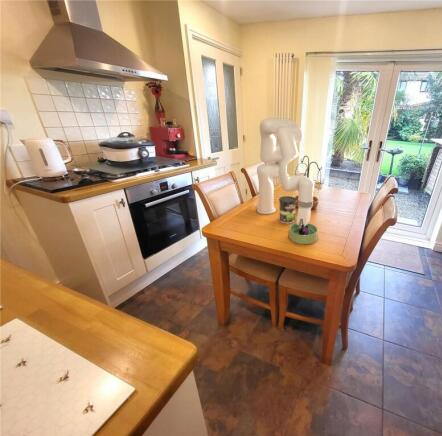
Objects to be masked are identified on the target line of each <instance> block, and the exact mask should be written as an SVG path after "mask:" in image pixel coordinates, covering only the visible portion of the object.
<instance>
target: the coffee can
mask: <svg viewBox="0 0 442 436" xmlns="http://www.w3.org/2000/svg"><path fill="white" fill-rule="evenodd" d="M296 204H297V198H296V197H294V196H289V195H287V196H286V195H284V196H280V197H279V198H278V221H279V222H280V223H282V224H286V225H287V224H294V223H295V221H296Z"/></svg>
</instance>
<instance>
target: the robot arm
mask: <svg viewBox="0 0 442 436" xmlns="http://www.w3.org/2000/svg"><path fill="white" fill-rule="evenodd" d="M259 133H260V134H259V135H260V153H259V155H260V156H259V157H260V160H261V162H263V163H262V164H259V165H257V168H256V174H257V181H258V198H259V199H258V202H254V207H257V209H256V212H258V214H261V215H271V214H274V213H275V212H277V211H276V210H277V208H276V207H275V206H274V205H275V204H274V203H275V202H274V199H275V198H274V195H275V194H274V193H275V192H274V190H275V189H274V183H273V182H272V181H271V180H272V179H278V178H279V182H280V185H281V188H282V189H283V191H284V192H287V193H289V192H295V191H298V193H297V194H298V195H297V207H298V209H297V216H296V223H297V225H299V235H305V231H304V230H305V227H306V228H307V229H308V223H310V221H311V214H312V213H311V212H312V208H313V205H314V204H313V203H314V192H315V191H314V190H315V181H314V180H313V179H311V178H309V177H307V176H306V175H304V174H298V175H289V174H288V165H289V163H290V162H292V161H294V160H296V159H297V158H298V156H299V151H298V147H297V143H301V142H302V141H303V139H304V131H303V130H302V128H301V127H300V126H299V125H298V124H297V123H296V122H295V121H293V120H291V119H289V118H275V117H273V118H271V117H269V118H264V119H262V120H261V121H260V124H259ZM276 138H277V139H276ZM277 142H278V145H277V144H276V143H277ZM302 224H303V225H302ZM302 227H303V228H302Z"/></svg>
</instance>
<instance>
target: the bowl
mask: <svg viewBox="0 0 442 436" xmlns="http://www.w3.org/2000/svg"><path fill="white" fill-rule="evenodd" d="M302 225H303V224H302ZM318 235H319V228H318V227H317V225H315V224H313V223H310V222H308V234H307V235H299V225H297V222H293V223H291V225H289V227H288V238H289V240H290V241H291V242H293V243H295V244H300V245H308V244H309V245H310V244H313V243H315V242H317V240H318Z"/></svg>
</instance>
